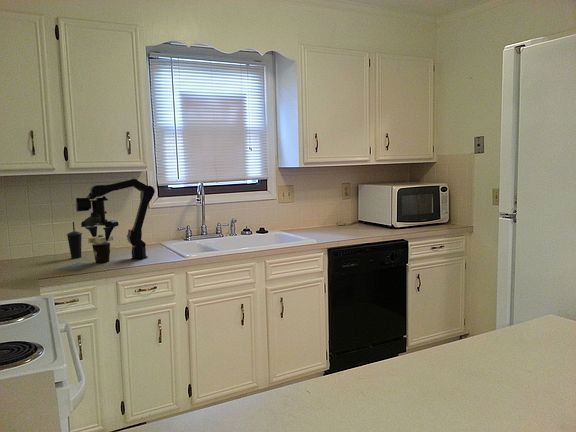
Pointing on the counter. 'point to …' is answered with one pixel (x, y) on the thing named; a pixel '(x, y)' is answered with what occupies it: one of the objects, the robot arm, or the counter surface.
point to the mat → (77, 267)
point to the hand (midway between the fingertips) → (101, 240)
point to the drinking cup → (75, 243)
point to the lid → (99, 239)
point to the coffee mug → (101, 252)
